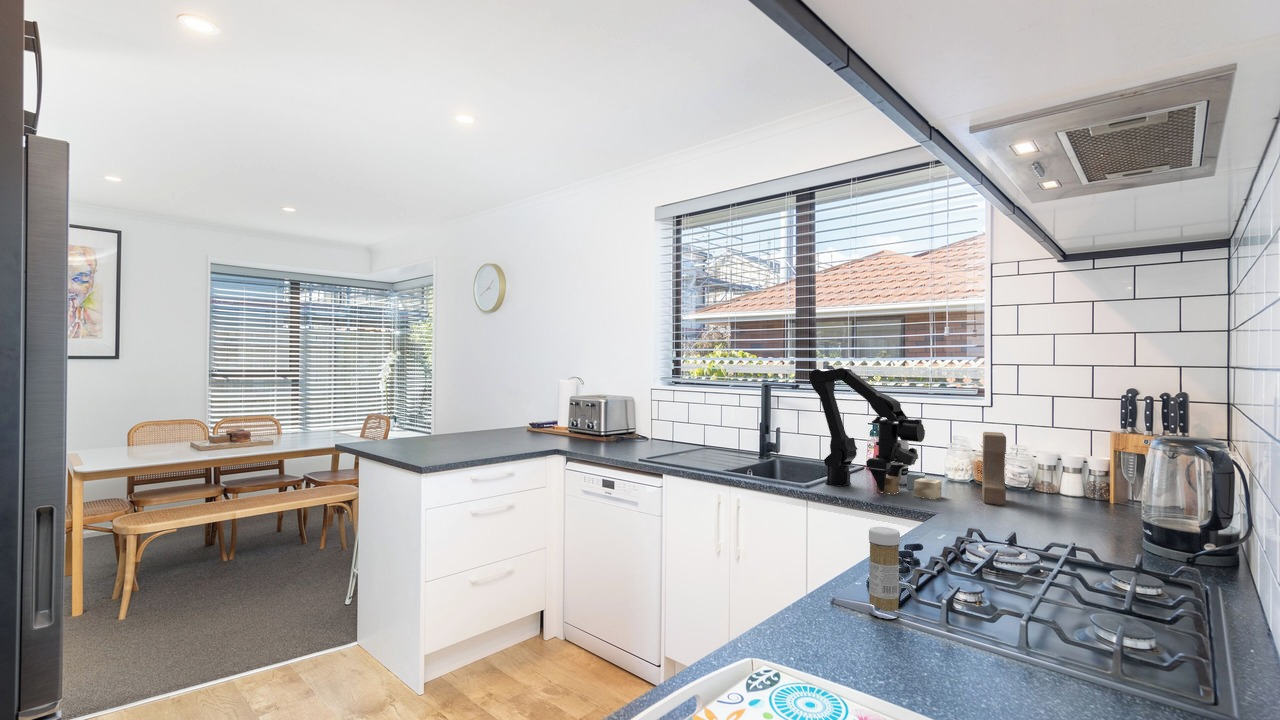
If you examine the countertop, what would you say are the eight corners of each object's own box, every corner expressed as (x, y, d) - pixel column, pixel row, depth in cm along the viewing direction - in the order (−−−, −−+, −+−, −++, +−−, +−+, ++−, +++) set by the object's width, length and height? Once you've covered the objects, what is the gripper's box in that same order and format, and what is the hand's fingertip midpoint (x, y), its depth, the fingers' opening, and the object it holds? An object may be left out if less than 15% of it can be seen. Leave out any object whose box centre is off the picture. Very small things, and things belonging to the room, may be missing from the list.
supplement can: (877, 480, 214) (878, 437, 214) (900, 480, 215) (900, 437, 215) (889, 484, 206) (890, 440, 206) (913, 484, 207) (913, 440, 207)
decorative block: (1005, 506, 177) (1006, 436, 177) (982, 503, 179) (983, 434, 179) (1003, 498, 186) (1004, 432, 187) (982, 496, 189) (982, 431, 189)
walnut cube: (876, 492, 193) (876, 476, 193) (882, 490, 197) (883, 474, 197) (892, 495, 190) (892, 479, 190) (898, 492, 194) (898, 477, 194)
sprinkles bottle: (896, 611, 99) (897, 526, 99) (901, 622, 94) (902, 534, 94) (866, 608, 100) (867, 524, 100) (870, 619, 95) (871, 532, 95)
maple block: (913, 497, 188) (914, 480, 188) (920, 494, 192) (921, 478, 192) (934, 500, 184) (934, 483, 184) (941, 497, 188) (941, 480, 188)
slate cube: (906, 489, 199) (907, 474, 199) (908, 487, 204) (908, 471, 204) (923, 491, 197) (923, 475, 197) (924, 488, 201) (925, 473, 201)
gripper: (902, 443, 181) (902, 497, 181) (925, 439, 195) (924, 488, 195) (865, 440, 189) (865, 491, 189) (890, 435, 203) (889, 483, 202)
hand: (887, 488), depth 194 cm, fingers open, 9 cm apart
